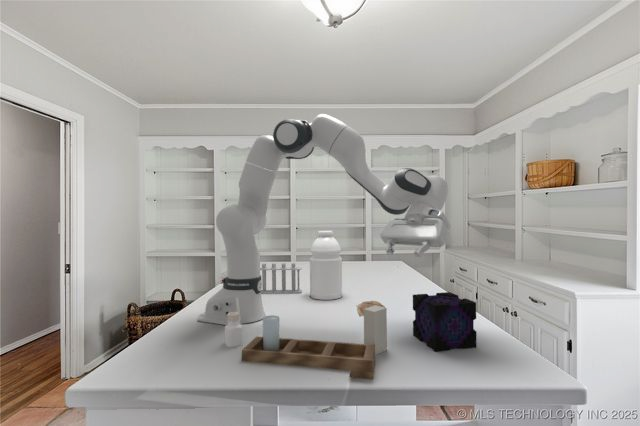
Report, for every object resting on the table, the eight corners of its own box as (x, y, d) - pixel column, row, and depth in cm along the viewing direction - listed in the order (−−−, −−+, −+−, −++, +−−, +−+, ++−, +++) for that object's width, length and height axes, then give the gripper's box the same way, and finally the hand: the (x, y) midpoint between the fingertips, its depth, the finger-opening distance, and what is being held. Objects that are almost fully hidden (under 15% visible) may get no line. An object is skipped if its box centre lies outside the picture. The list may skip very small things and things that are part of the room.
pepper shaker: (224, 348, 92) (224, 312, 92) (239, 345, 94) (238, 310, 94) (228, 353, 89) (227, 316, 89) (243, 350, 91) (243, 314, 91)
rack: (241, 367, 81) (241, 350, 81) (256, 351, 89) (256, 336, 89) (372, 379, 74) (372, 360, 74) (375, 361, 83) (375, 344, 83)
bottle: (311, 292, 154) (310, 230, 154) (341, 292, 154) (341, 229, 154) (309, 300, 140) (308, 232, 140) (342, 300, 140) (342, 231, 140)
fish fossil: (389, 325, 110) (389, 321, 110) (357, 327, 111) (357, 323, 111) (380, 302, 136) (379, 299, 136) (354, 304, 137) (354, 301, 137)
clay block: (364, 351, 89) (363, 309, 89) (376, 346, 92) (375, 305, 92) (374, 355, 86) (374, 311, 86) (386, 349, 90) (386, 307, 90)
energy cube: (450, 332, 102) (449, 292, 102) (476, 347, 91) (476, 302, 91) (413, 335, 100) (412, 294, 100) (435, 352, 88) (434, 305, 88)
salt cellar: (260, 357, 82) (260, 320, 82) (266, 350, 86) (266, 315, 86) (276, 358, 81) (276, 321, 81) (282, 352, 85) (281, 315, 85)
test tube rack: (245, 294, 153) (245, 264, 153) (247, 291, 157) (247, 263, 157) (301, 293, 153) (301, 264, 153) (302, 291, 157) (301, 262, 157)
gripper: (387, 212, 110) (368, 245, 104) (448, 211, 95) (430, 249, 89) (396, 225, 113) (378, 258, 107) (456, 226, 98) (439, 264, 92)
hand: (402, 254), depth 98 cm, fingers open, 8 cm apart
